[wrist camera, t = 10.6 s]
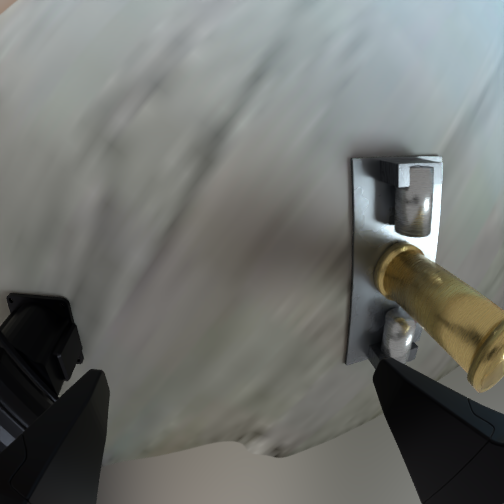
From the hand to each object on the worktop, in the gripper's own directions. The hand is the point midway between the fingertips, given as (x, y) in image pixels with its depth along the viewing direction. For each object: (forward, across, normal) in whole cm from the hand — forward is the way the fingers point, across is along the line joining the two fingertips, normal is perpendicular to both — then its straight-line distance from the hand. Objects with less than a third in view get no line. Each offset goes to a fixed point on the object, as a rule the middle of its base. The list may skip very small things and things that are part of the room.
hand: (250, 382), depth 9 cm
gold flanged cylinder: (+13, -15, +2) cm, 20 cm away
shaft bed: (+13, -15, +2) cm, 20 cm away
